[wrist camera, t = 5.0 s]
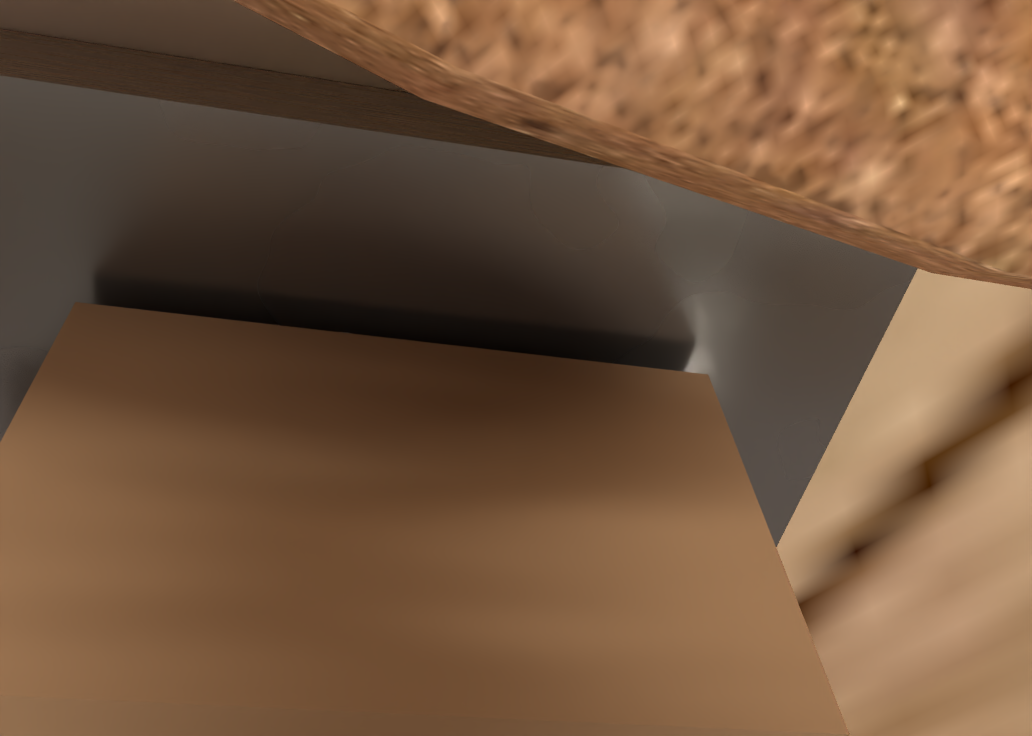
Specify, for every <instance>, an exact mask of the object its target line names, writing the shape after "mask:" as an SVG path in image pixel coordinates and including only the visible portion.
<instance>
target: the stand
mask: <svg viewBox="0 0 1032 736" xmlns="http://www.w3.org/2000/svg"><path fill="white" fill-rule="evenodd" d="M917 269H918V268H916V267H913V266H910V265H907V264H904V263H901V262H899V261H896V260H893V259H890V258H887V257H884V256H881V255H878V254H875V253H872V252H869V251H866V250H863V249H860V248H858V247H855V246H852V245H849V244H846V243H843V242H840V241H837V240H834V239H831V238H828V237H825V236H822V235H819V234H817V233H814V232H811V231H808V230H805V229H802V228H799V227H796V226H793V225H790V224H787V223H784V222H781V221H778V220H776V219H773V218H770V217H767V216H764V215H761V214H758V213H755V212H752V211H749V210H746V209H743V208H740V207H737V206H735V205H732V204H729V203H726V202H723V201H720V200H717V199H714V198H711V197H708V196H705V195H702V194H699V193H696V192H694V191H691V190H688V189H685V188H682V187H679V186H676V185H673V184H670V183H667V182H664V181H661V180H658V179H655V178H653V177H650V176H647V175H644V174H641V173H638V172H635V171H632V170H629V169H626V168H623V167H620V166H617V165H614V164H612V163H609V162H606V161H603V160H600V159H597V158H594V157H591V156H588V155H585V154H582V153H579V152H576V151H573V150H571V149H568V148H565V147H562V146H559V145H556V144H553V143H550V142H547V141H544V140H541V139H538V138H535V137H532V136H530V135H527V134H524V133H521V132H518V131H515V130H512V129H509V128H506V127H503V126H500V125H497V124H494V123H491V122H489V121H486V120H483V119H480V118H477V117H474V116H471V115H468V114H465V113H462V112H459V111H456V110H453V109H450V108H448V107H445V106H442V105H439V104H436V103H433V102H430V101H427V100H424V99H422V98H420V97H418V96H416V95H414V94H412V93H406V92H399V91H393V90H387V89H380V88H374V87H367V86H361V85H355V84H348V83H342V82H336V81H329V80H323V79H317V78H310V77H304V76H297V75H291V74H285V73H278V72H272V71H266V70H259V69H253V68H247V67H240V66H234V65H228V64H221V63H215V62H208V61H202V60H196V59H189V58H183V57H177V56H170V55H164V54H158V53H151V52H145V51H138V50H132V49H126V48H119V47H113V46H107V45H100V44H94V43H88V42H81V41H75V40H69V39H62V38H56V37H49V36H43V35H37V34H30V33H24V32H18V31H11V30H5V29H0V442H1V440H2V438H3V436H4V434H5V432H6V430H7V429H8V427H9V425H10V423H11V421H12V419H13V417H14V416H15V414H16V412H17V410H18V408H19V406H20V404H21V402H22V401H23V399H24V397H25V395H26V393H27V391H28V389H29V388H30V386H31V384H32V382H33V380H34V378H35V376H36V374H37V373H38V371H39V369H40V367H41V365H42V363H43V361H44V360H45V358H46V356H47V354H48V352H49V350H50V348H51V347H52V345H53V343H54V341H55V339H56V337H57V335H58V333H59V332H60V330H61V328H62V326H63V324H64V322H65V320H66V319H67V317H68V315H69V313H70V311H71V309H72V307H73V305H74V304H75V302H80V303H88V304H97V305H106V306H115V307H123V308H132V309H141V310H149V311H158V312H167V313H176V314H184V315H193V316H202V317H211V318H219V319H228V320H237V321H246V322H254V323H263V324H272V325H280V326H289V327H298V328H307V329H315V330H324V331H333V332H342V333H350V334H359V335H368V336H377V337H385V338H394V339H403V340H411V341H420V342H429V343H438V344H446V345H455V346H464V347H473V348H481V349H490V350H499V351H508V352H516V353H525V354H534V355H542V356H551V357H560V358H569V359H577V360H586V361H595V362H604V363H612V364H621V365H630V366H639V367H647V368H656V369H665V370H673V371H682V372H691V373H700V374H708V375H709V378H710V380H711V383H712V385H713V388H714V391H715V393H716V396H717V398H718V401H719V403H720V406H721V408H722V411H723V413H724V416H725V419H726V421H727V424H728V426H729V429H730V431H731V434H732V436H733V439H734V442H735V444H736V447H737V449H738V452H739V454H740V457H741V459H742V462H743V464H744V467H745V470H746V472H747V475H748V477H749V480H750V482H751V485H752V487H753V490H754V492H755V495H756V498H757V500H758V503H759V505H760V508H761V510H762V513H763V515H764V518H765V520H766V523H767V526H768V528H769V531H770V533H771V536H772V538H773V541H774V543H775V546H776V547H777V545H778V543H779V541H780V539H781V537H782V535H783V533H784V531H785V529H786V527H787V525H788V523H789V521H790V519H791V517H792V515H793V513H794V511H795V509H796V507H797V505H798V503H799V501H800V499H801V497H802V495H803V493H804V491H805V490H806V488H807V486H808V484H809V482H810V480H811V478H812V476H813V474H814V472H815V470H816V468H817V466H818V464H819V462H820V460H821V458H822V456H823V454H824V452H825V450H826V448H827V446H828V444H829V442H830V440H831V438H832V436H833V434H834V432H835V430H836V428H837V426H838V424H839V422H840V420H841V418H842V416H843V415H844V413H845V411H846V409H847V407H848V405H849V403H850V401H851V399H852V397H853V395H854V393H855V391H856V389H857V387H858V385H859V383H860V381H861V379H862V377H863V375H864V373H865V371H866V369H867V367H868V365H869V363H870V361H871V359H872V357H873V355H874V353H875V351H876V349H877V347H878V345H879V343H880V342H881V340H882V338H883V336H884V334H885V332H886V330H887V328H888V326H889V324H890V322H891V320H892V318H893V316H894V314H895V312H896V310H897V308H898V306H899V304H900V302H901V300H902V298H903V296H904V294H905V292H906V290H907V288H908V286H909V284H910V282H911V280H912V278H913V276H914V274H915V272H916V270H917Z"/></svg>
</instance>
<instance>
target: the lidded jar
mask: <svg viewBox="0 0 1032 736" xmlns="http://www.w3.org/2000/svg"><path fill="white" fill-rule="evenodd" d="M233 1H235V2H237V3H239V4H241V5H243V6H245V7H247V8H249V9H251V10H252V11H254V12H256V13H258V14H260V15H262V16H264V17H266V18H268V19H270V20H272V21H274V22H276V23H278V24H279V25H281V26H283V27H285V28H287V29H289V30H291V31H293V32H295V33H297V34H299V35H301V36H303V37H305V38H306V39H308V40H310V41H312V42H314V43H316V44H318V45H320V46H322V47H324V48H326V49H328V50H330V51H331V52H333V53H335V54H337V55H339V56H341V57H343V58H345V59H347V60H349V61H351V62H353V63H355V64H357V65H358V66H360V67H362V68H364V69H366V70H368V71H370V72H372V73H374V74H376V75H378V76H380V77H382V78H384V79H385V80H387V81H389V82H391V83H393V84H395V85H397V86H399V87H401V88H403V89H405V90H407V91H409V92H411V93H412V94H414V95H416V96H418V97H420V98H422V99H424V100H427V101H430V102H433V103H436V104H439V105H442V106H445V107H448V108H450V109H453V110H456V111H459V112H462V113H465V114H468V115H471V116H474V117H477V118H480V119H483V120H486V121H489V122H491V123H494V124H497V125H500V126H503V127H506V128H509V129H512V130H515V131H518V132H521V133H524V134H527V135H530V136H532V137H535V138H538V139H541V140H544V141H547V142H550V143H553V144H556V145H559V146H562V147H565V148H568V149H571V150H573V151H576V152H579V153H582V154H585V155H588V156H591V157H594V158H597V159H600V160H603V161H606V162H609V163H612V164H614V165H617V166H620V167H623V168H626V169H629V170H632V171H635V172H638V173H641V174H644V175H647V176H650V177H653V178H655V179H658V180H661V181H664V182H667V183H670V184H673V185H676V186H679V187H682V188H685V189H688V190H691V191H694V192H696V193H699V194H702V195H705V196H708V197H711V198H714V199H717V200H720V201H723V202H726V203H729V204H732V205H735V206H737V207H740V208H743V209H746V210H749V211H752V212H755V213H758V214H761V215H764V216H767V217H770V218H773V219H776V220H778V221H781V222H784V223H787V224H790V225H793V226H796V227H799V228H802V229H805V230H808V231H811V232H814V233H817V234H819V235H822V236H825V237H828V238H831V239H834V240H837V241H840V242H843V243H846V244H849V245H852V246H855V247H858V248H860V249H863V250H866V251H869V252H872V253H875V254H878V255H881V256H884V257H887V258H890V259H893V260H896V261H899V262H901V263H904V264H907V265H910V266H913V267H916V268H919V269H922V270H925V271H928V272H931V273H936V274H942V275H948V276H954V277H961V278H967V279H973V280H979V281H985V282H992V283H998V284H1004V285H1010V286H1017V287H1023V288H1029V289H1032V0H233Z"/></svg>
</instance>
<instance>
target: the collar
mask: <svg viewBox="0 0 1032 736" xmlns="http://www.w3.org/2000/svg"><path fill="white" fill-rule="evenodd" d="M0 736H849V732H848V729H847V727H846V724H845V722H844V719H843V717H842V714H841V712H840V709H839V706H838V704H837V701H836V699H835V696H834V694H833V691H832V689H831V686H830V684H829V681H828V678H827V676H826V673H825V671H824V668H823V666H822V663H821V661H820V658H819V656H818V653H817V650H816V648H815V645H814V643H813V640H812V638H811V635H810V633H809V630H808V627H807V625H806V622H805V620H804V617H803V615H802V612H801V610H800V607H799V605H798V602H797V599H796V597H795V594H794V592H793V589H792V587H791V584H790V582H789V579H788V577H787V574H786V571H785V569H784V566H783V564H782V561H781V559H780V556H779V554H778V551H777V549H776V546H775V543H774V541H773V538H772V536H771V533H770V531H769V528H768V526H767V523H766V520H765V518H764V515H763V513H762V510H761V508H760V505H759V503H758V500H757V498H756V495H755V492H754V490H753V487H752V485H751V482H750V480H749V477H748V475H747V472H746V470H745V467H744V464H743V462H742V459H741V457H740V454H739V452H738V449H737V447H736V444H735V442H734V439H733V436H732V434H731V431H730V429H729V426H728V424H727V421H726V419H725V416H724V413H723V411H722V408H721V406H720V403H719V401H718V398H717V396H716V393H715V391H714V388H713V385H712V383H711V380H710V378H709V375H708V374H700V373H691V372H682V371H673V370H665V369H656V368H647V367H639V366H630V365H621V364H612V363H604V362H595V361H586V360H577V359H569V358H560V357H551V356H542V355H534V354H525V353H516V352H508V351H499V350H490V349H481V348H473V347H464V346H455V345H446V344H438V343H429V342H420V341H411V340H403V339H394V338H385V337H377V336H368V335H359V334H350V333H342V332H333V331H324V330H315V329H307V328H298V327H289V326H280V325H272V324H263V323H254V322H246V321H237V320H228V319H219V318H211V317H202V316H193V315H184V314H176V313H167V312H158V311H149V310H141V309H132V308H123V307H115V306H106V305H97V304H88V303H80V302H75V304H74V305H73V307H72V309H71V311H70V313H69V315H68V317H67V319H66V320H65V322H64V324H63V326H62V328H61V330H60V332H59V333H58V335H57V337H56V339H55V341H54V343H53V345H52V347H51V348H50V350H49V352H48V354H47V356H46V358H45V360H44V361H43V363H42V365H41V367H40V369H39V371H38V373H37V374H36V376H35V378H34V380H33V382H32V384H31V386H30V388H29V389H28V391H27V393H26V395H25V397H24V399H23V401H22V402H21V404H20V406H19V408H18V410H17V412H16V414H15V416H14V417H13V419H12V421H11V423H10V425H9V427H8V429H7V430H6V432H5V434H4V436H3V438H2V440H1V442H0Z"/></svg>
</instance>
